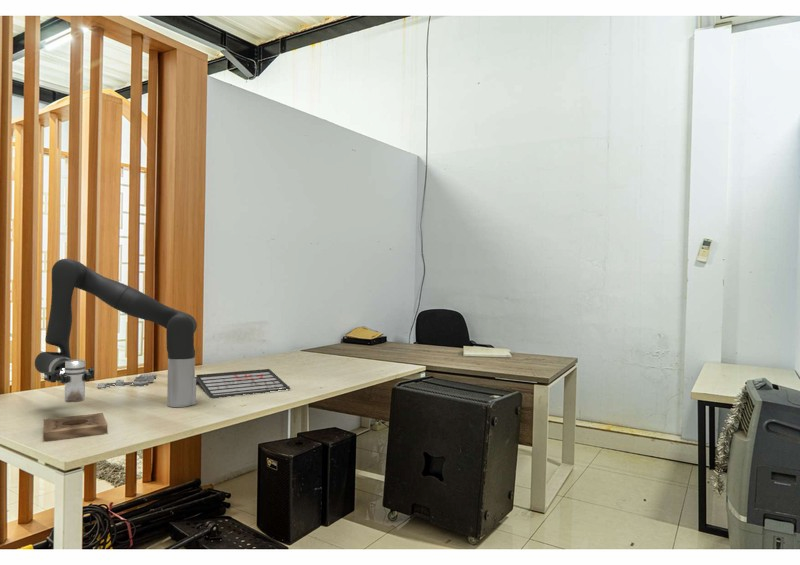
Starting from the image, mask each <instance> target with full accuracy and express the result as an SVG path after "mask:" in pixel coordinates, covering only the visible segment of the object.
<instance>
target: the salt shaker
mask: <svg viewBox="0 0 800 565" xmlns="http://www.w3.org/2000/svg"><path fill="white" fill-rule="evenodd" d="M85 370H86V360H85V359H72V360H68V361H65V375H67V377H68V379H67V383H65V384H64V402H65V403H79V402H83V401H85V399H86V397H85V396H86V393H85V392H86V389H85V388H86V381H85Z"/></svg>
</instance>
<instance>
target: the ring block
mask: <svg viewBox="0 0 800 565" xmlns="http://www.w3.org/2000/svg"><path fill="white" fill-rule="evenodd" d="M103 433H107V434H108V423H107V420H106V418H105V416H104V413H103V412H99V413H90V414H82V415H81V414H80V415H72V416H63V417H54V418H52V417H51V418H45V419H43V442H44V441H45V442H50V441H52V440H53V441H60V440H59V439H61V440H66V439H67V438H68V439H75V438H74V437H76V438H82V436H84V437H90V436H89V435H92V436H97V434H99V435H104V434H103Z"/></svg>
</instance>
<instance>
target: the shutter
mask: <svg viewBox="0 0 800 565" xmlns="http://www.w3.org/2000/svg"><path fill="white" fill-rule="evenodd" d="M195 378H196V386H199V385H200V386H201V388H202V389H203V390H204V392H205V393H206V394H207V396H208V397H209V398H210V399H211V398H212V399H219V397H222V398H228V397H227V396H231V397H235V396H234V395H241V396H244V395H243V394H250V395H254V394H253V393H260V394H264V393H263V392H269V393H271V392H270V391H278V390H286V389H290V390H291V387H290V386H289V385H288V384H287V383H286V382H284V381H283V380H282V379H281V378H280V377H279V376H278V375H277V374H276V373H274V372H273V371H272V370H271V369H270V368H266V369H252V370H241V371H240V370H239V371H230V372H229V371H228V372H216V373H214V372H213V373H203V374H196V375H195ZM279 388H282V389H279Z"/></svg>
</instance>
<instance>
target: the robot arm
mask: <svg viewBox="0 0 800 565" xmlns="http://www.w3.org/2000/svg"><path fill="white" fill-rule="evenodd" d="M75 288H76V289H79V290H81V291H85V292H86V293H89V294H91V295H93V296H94V297H96V298H98V299H100V301H102V302H103V303H104V304H106V305H108V306H110V307H111V308H113V309H115V310H117V311H119V312H121V313H123V314H125V315H127V316H131V317H134V318H137V319H141V320H145V321H149V322H151V323H154V324H157V325H159V326H161V327H162V328H164V329H166V352H167V393H166V394H167V398H166V400H167V401H166V403H167V404H166V405H167V406H168V407H170V408H171V407H172V408H185V407H191V406H193V405H194V406H195V405H196V404H197V385H196V378H195V377H196V375H195V374H196V371H195V370H196V367H195V365H196V349H195V345H194V343H195V338H194V336H195V335H194V334H195V333H196V331H197V327H198V324H197V321H196V319H195V317H194V316H192V315H191V314H189V313H187V312H184V311H181V310H178V309H175V308H173V307H170V306H168V305H166V304H164V303H162V302H160V301H158V300H156V299H155V298H153V297H151V296H149V295H147V294H145V293H144V292H142V291H140V290H137V289H136V288H133V287H132V286H129V285H127V284H125V283H122V282H119V281H117V280H114V279H111V278H108V277H107V276H103V275H101V274H99V273H98V272H96V271H94V270H93V269H91V268H89V267H88V266H86V265H85V264H83V263H82V262H80V261H77V260H75V259H71V258H61V259H59V260H57V261H55V263H54V264H53V265H52V268H51V299H50V300H51V302H50V312H49V317H48V322H47V327H46V334H45V339H44V340H45V343H46V344H47V345H51V346H53V347H54V346H55V347H57V348H59V350H60V352H59V351H56V352H55V351H42V352H39V354H37V356H35V359H34V366H35V369H36V371H37V372H39V373H41V374H43V380H44V381H47V382H49V383H56V382H58V383H60V384H63V385H65V383H67V379H68V377H67V375H65V361H68V360H73V359H72V355H71V352H70V350H71V349H70V337H71V332H72V327H73V326H72V324H73V311H72V301H73V300H72V299H73V294H74V290H75ZM94 378H95V367H93V366H91V367H89V368H87V369H85V382H89V381H90V380H92V379H94Z"/></svg>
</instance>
